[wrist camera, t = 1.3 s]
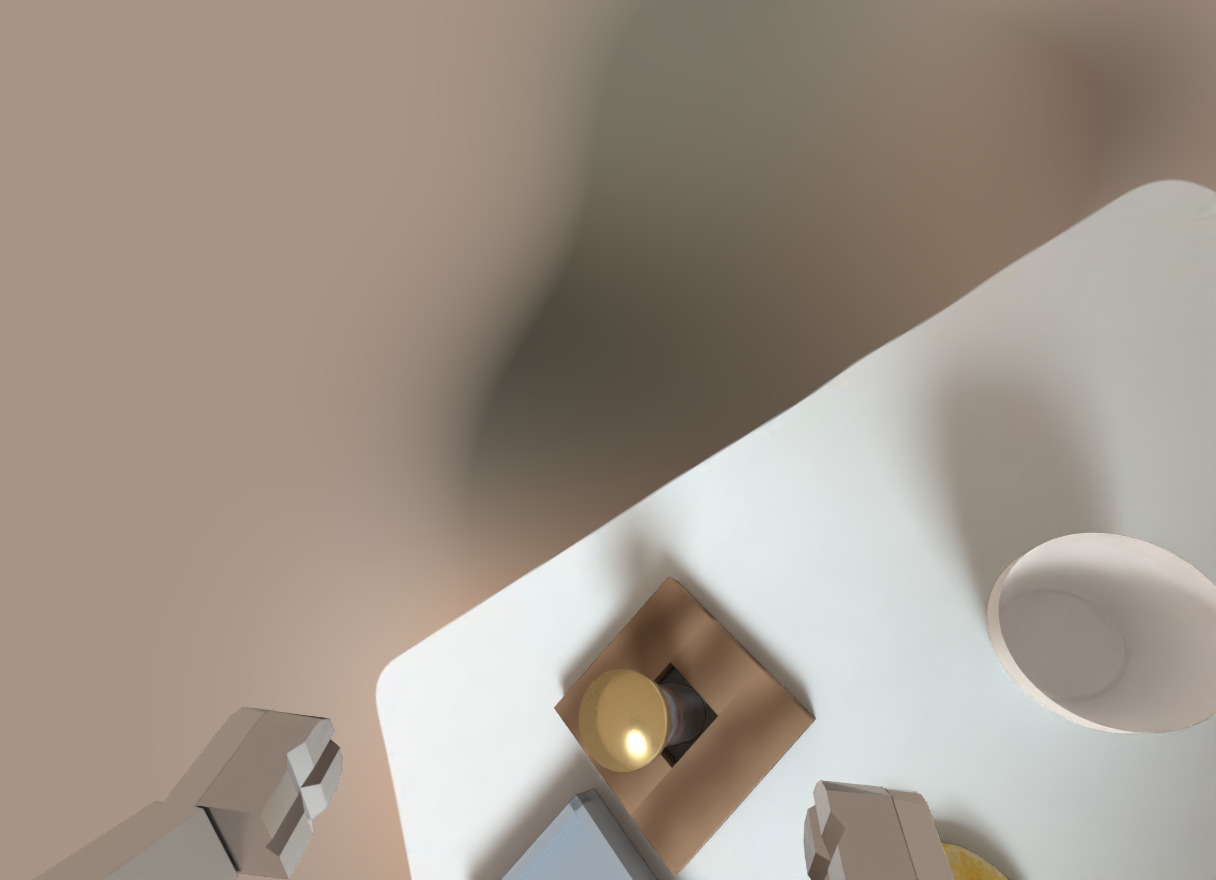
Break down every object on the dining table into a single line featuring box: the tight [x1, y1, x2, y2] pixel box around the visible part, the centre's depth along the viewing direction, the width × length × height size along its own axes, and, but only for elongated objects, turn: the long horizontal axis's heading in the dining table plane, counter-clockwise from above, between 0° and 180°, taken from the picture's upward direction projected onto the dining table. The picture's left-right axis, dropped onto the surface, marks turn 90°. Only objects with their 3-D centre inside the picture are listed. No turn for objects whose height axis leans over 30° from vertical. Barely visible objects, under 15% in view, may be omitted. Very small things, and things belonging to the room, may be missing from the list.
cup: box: [987, 533, 1216, 734], centre depth 32 cm, size 9×9×12 cm
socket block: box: [554, 577, 815, 876], centre depth 44 cm, size 14×14×2 cm
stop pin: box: [579, 669, 705, 772], centre depth 40 cm, size 6×6×11 cm
